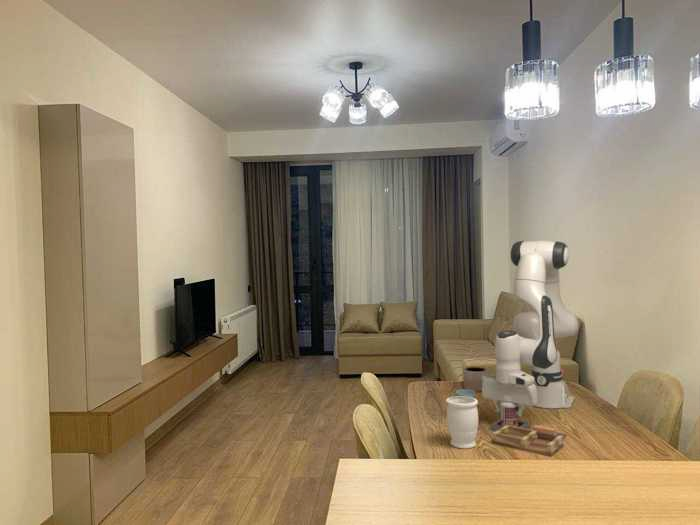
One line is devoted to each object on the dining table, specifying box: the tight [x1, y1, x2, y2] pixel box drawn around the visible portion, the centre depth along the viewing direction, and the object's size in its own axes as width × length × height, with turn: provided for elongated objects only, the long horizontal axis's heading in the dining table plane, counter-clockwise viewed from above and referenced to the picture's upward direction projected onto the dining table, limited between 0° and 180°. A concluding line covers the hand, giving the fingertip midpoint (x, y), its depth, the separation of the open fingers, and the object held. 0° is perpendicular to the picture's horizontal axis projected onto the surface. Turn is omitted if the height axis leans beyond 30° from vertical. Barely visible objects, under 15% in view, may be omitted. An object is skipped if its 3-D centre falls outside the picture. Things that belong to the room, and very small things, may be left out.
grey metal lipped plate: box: [537, 432, 568, 441], centre depth 179 cm, size 10×9×3 cm
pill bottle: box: [499, 395, 519, 427], centre depth 190 cm, size 6×6×11 cm
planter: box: [463, 366, 488, 393], centre depth 248 cm, size 11×11×10 cm
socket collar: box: [490, 418, 531, 432], centre depth 189 cm, size 10×10×2 cm
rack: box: [491, 425, 565, 457], centre depth 173 cm, size 11×20×4 cm, turn 49°
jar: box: [446, 395, 479, 450], centre depth 175 cm, size 11×10×15 cm
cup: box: [454, 389, 476, 399], centre depth 203 cm, size 8×8×10 cm
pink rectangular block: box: [532, 424, 557, 436], centre depth 177 cm, size 2×7×4 cm, turn 49°
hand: (509, 413), depth 190 cm, fingers closed on pill bottle, 6 cm apart
